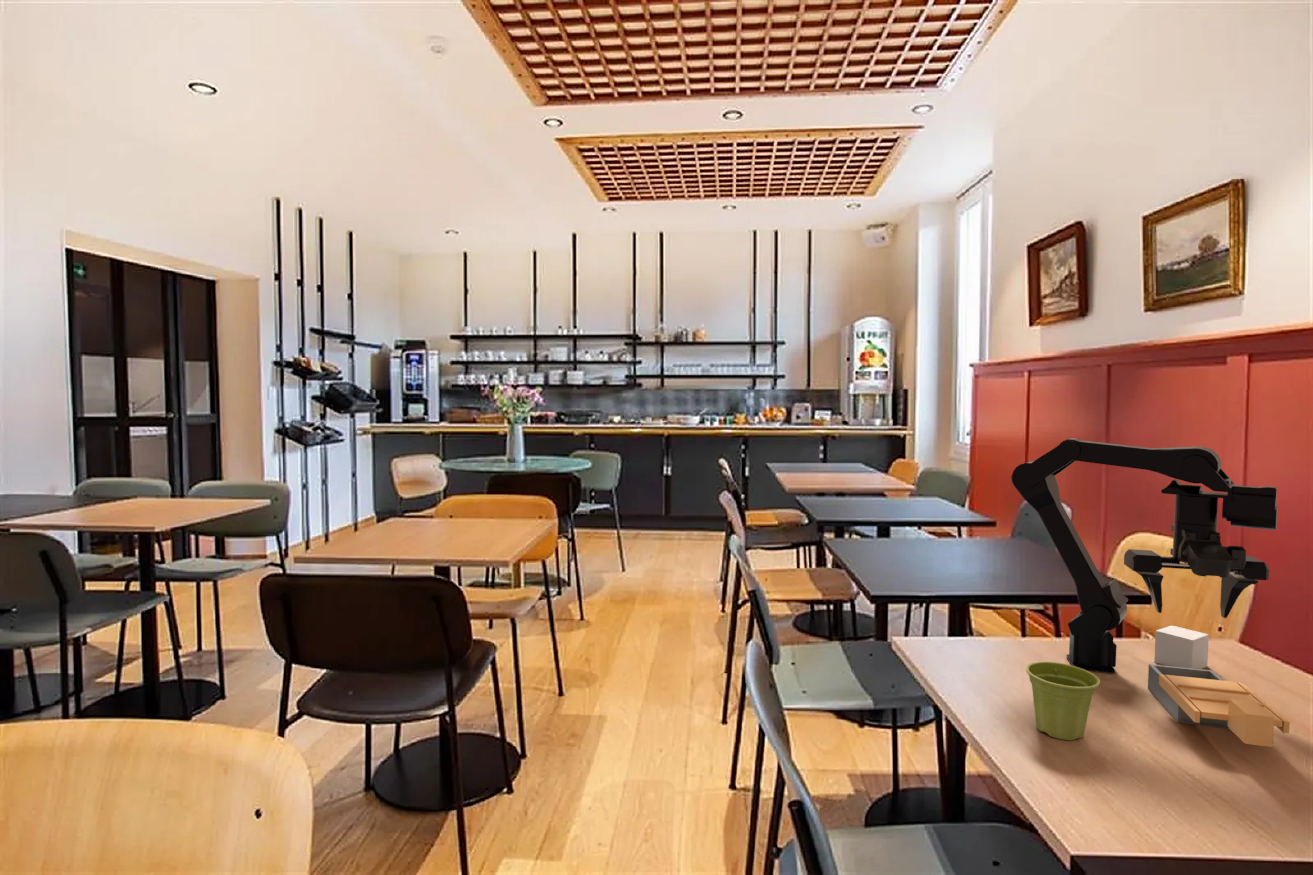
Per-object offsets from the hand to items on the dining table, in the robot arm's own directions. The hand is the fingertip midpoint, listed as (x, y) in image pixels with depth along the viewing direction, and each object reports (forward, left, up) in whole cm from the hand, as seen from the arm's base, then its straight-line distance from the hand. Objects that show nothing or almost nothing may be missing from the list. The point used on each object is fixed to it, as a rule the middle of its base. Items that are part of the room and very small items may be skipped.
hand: (1191, 614), depth 119 cm
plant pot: (-24, -24, -13) cm, 36 cm away
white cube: (+3, +12, -13) cm, 18 cm away
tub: (-2, -9, -12) cm, 16 cm away
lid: (-2, -19, -9) cm, 21 cm away
